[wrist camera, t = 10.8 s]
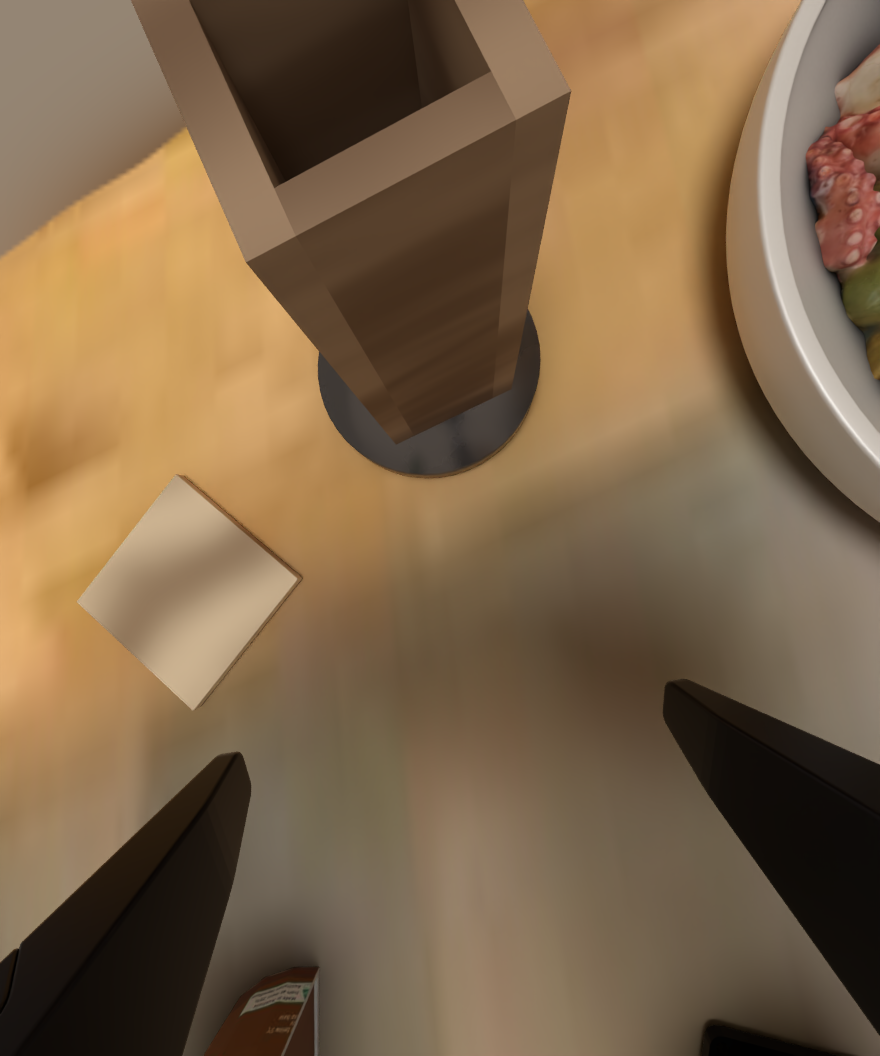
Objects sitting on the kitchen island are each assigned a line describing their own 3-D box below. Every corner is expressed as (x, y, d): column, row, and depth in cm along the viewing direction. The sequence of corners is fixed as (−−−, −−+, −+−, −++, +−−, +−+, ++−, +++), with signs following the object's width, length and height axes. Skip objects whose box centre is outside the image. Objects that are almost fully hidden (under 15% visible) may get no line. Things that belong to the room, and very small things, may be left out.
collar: (511, 389, 18) (570, 90, 6) (395, 444, 19) (245, 262, 7) (457, 278, 19) (418, -195, 7) (346, 335, 19) (122, -19, 7)
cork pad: (302, 577, 20) (297, 579, 19) (200, 706, 20) (193, 710, 20) (183, 475, 21) (175, 474, 20) (86, 600, 21) (76, 601, 20)
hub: (551, 281, 19) (575, 189, 14) (519, 492, 19) (533, 473, 14) (345, 262, 20) (302, 171, 16) (311, 463, 20) (257, 435, 15)
